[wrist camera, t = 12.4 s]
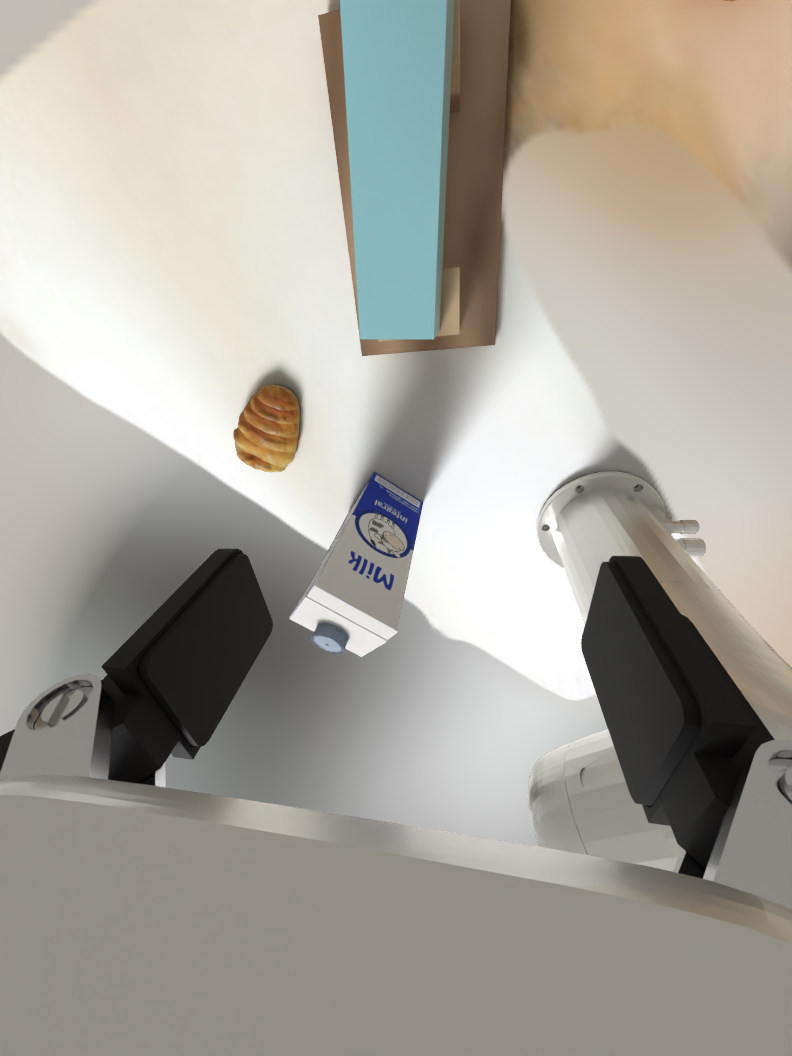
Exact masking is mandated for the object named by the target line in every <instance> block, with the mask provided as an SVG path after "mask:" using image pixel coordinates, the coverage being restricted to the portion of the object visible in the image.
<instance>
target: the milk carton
mask: <svg viewBox="0 0 792 1056" xmlns="http://www.w3.org/2000/svg"><path fill="white" fill-rule="evenodd" d="M422 505H423V502H421V501H420V500H418V499H416V498H415V497H413V496H412V495H410V494H408V493H407V492H405V491H404V490H402V489H400V488H399V487H397V486H396V485H394V484H393V483H391V482H389V481H388V480H386V479H385V478H383V477H381V476H380V475H378V474H377V473H375V472H374V474H373V475H372V477H371V478H370V480H369V481H368V483H367V485H366V486H365V488H364V489H363V491H362V492H361V494H360V496H359V497H358V499H357V500H356V502H355V503H354V505H353V507H352V508H351V510H350V511H349V513H348V515H347V517H346V518H345V520H344V522H343V524H342V526H341V528H340V530H339V531H338V533H337V535H336V537H335V539H334V541H333V543H332V544H331V546H330V548H329V550H328V552H327V554H326V555H325V557H324V559H323V562H322V563H321V565H320V567H319V569H318V570H317V572H316V574H315V576H314V578H313V580H312V581H311V583H310V585H309V587H308V589H307V591H306V592H305V594H304V595H303V597H302V599H301V600H300V602H299V603H298V605H297V606H296V608H295V610H294V611H293V613H292V615H291V616H290V619H291V620H293V621H295V622H297V623H298V624H300V625H302V626H304V627H306V628H308V629H310V630H312V631H314V633H313V635H312V637H311V639H312V641H313V642H314V643H315V644H316V645H317V646H319V647H320V648H323V649H325V650H327V651H330V652H333V653H343V652H344V649H345V648H346V649H348V650H350V651H352V652H353V653H355V654H357V655H359V656H361V657H362V656H364V655H365V654H367V653H369V652H371V651H372V650H374V649H375V648H377V647H379V646H380V645H382V644H384V643H385V642H387V641H388V639H389V638H390V637H392V636H393V635H395V634H396V633H397V632H398V624H399V618H400V614H401V609H402V604H403V599H404V594H405V589H406V584H407V579H408V574H409V569H410V564H411V559H412V555H413V550H414V545H415V540H416V535H417V530H418V525H419V520H420V515H421V510H422Z"/></svg>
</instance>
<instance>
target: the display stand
mask: <svg viewBox="0 0 792 1056" xmlns="http://www.w3.org/2000/svg"><path fill="white" fill-rule="evenodd" d="M510 7H511V0H455V5H454V27H453V48H452V70H451V92H450V114H449V136H448V158H447V179H446V201H445V223H444V245H443V267H442V289H441V310H440V332H439V333H438V334H437V336H436V337H435V338H434V339H360V343H361V351H362V356H368V355H380V354H392V353H404V352H415V351H427V350H439V349H451V348H463V347H475V346H487V345H495V334H496V312H497V290H498V268H499V246H500V225H501V203H502V181H503V159H504V137H505V116H506V94H507V72H508V50H509V29H510ZM318 17H319V24H320V32H321V40H322V48H323V55H324V63H325V71H326V79H327V87H328V94H329V102H330V110H331V118H332V125H333V133H334V141H335V149H336V156H337V164H338V172H339V180H340V188H341V195H342V203H343V211H344V219H345V226H346V234H347V242H348V250H349V257H350V265H351V273H352V281H353V288H354V296H355V304H356V312H357V320H358V327H359V317H358V300H357V283H356V266H355V249H354V232H353V215H352V198H351V181H350V164H349V147H348V130H347V113H346V96H345V79H344V63H343V46H342V29H341V12H340V10H337V11H333V12H329V13H326V14H322V15H318ZM359 335H360V334H359Z"/></svg>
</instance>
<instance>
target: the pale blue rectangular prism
mask: <svg viewBox="0 0 792 1056" xmlns="http://www.w3.org/2000/svg"><path fill="white" fill-rule="evenodd" d="M454 5H455V0H340V12H341V29H342V46H343V63H344V79H345V96H346V113H347V130H348V147H349V164H350V181H351V198H352V215H353V232H354V249H355V266H356V283H357V300H358V317H359V334H360V339H434V338H435V337H436V336H437V334H438V333H439V332H440V310H441V289H442V267H443V245H444V223H445V201H446V179H447V158H448V136H449V114H450V92H451V70H452V48H453V27H454Z"/></svg>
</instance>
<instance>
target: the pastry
mask: <svg viewBox="0 0 792 1056" xmlns="http://www.w3.org/2000/svg"><path fill="white" fill-rule="evenodd" d="M299 422H300V408H299V404H298V400H297V397H296V396H295V394H294V393H293V392H292V391H290V390H289V389H287V388H285V387H283V386H278V385H274V384H271V385H267V386H263V387H261V389H260V390H259V391H258V393H257V394H256V395H255V396H253V397H252V398H251V400H250V402H249V404H248V405H247V406H246V407H245V409H244V411H243V412H242V413H241V415H240V417H239V423H238V428H237V429H235V430H234V440H235V447H236V451H237V456H238V457H239V459H240V460H241V461H243V462H244V463H246V464H247V465H249V466H251V467H253V468H254V469H259V470H263V471H265V472H281V471H283V470H284V469H285V468H286V467H287V465H288V464H289V463H290V462H291V461H292V460H293V459H294V456H295V453H296V449H297V442H298V436H299Z"/></svg>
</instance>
